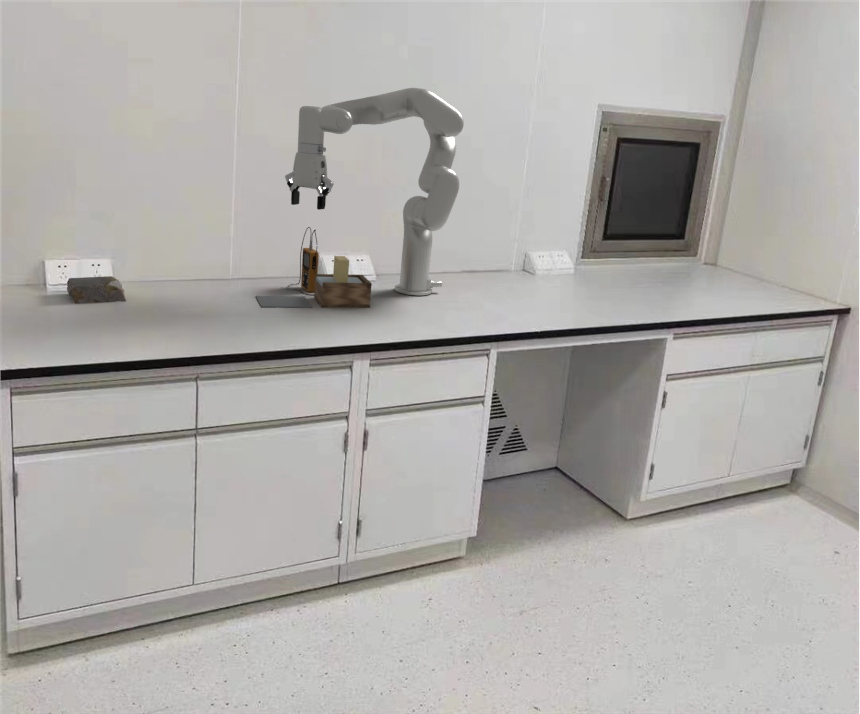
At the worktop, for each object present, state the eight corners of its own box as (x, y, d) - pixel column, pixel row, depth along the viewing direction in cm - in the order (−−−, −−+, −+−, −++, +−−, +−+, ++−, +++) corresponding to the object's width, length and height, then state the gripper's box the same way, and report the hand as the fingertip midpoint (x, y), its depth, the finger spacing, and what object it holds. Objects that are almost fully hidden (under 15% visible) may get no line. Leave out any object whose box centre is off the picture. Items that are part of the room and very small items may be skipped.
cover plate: (357, 280, 270) (358, 255, 268) (364, 287, 262) (366, 261, 259) (316, 279, 266) (317, 254, 263) (322, 287, 258) (323, 260, 255)
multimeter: (275, 285, 279) (278, 223, 273) (305, 284, 284) (308, 224, 278) (290, 296, 267) (293, 232, 261) (321, 295, 272) (324, 232, 266)
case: (360, 298, 273) (362, 274, 271) (369, 307, 263) (371, 283, 261) (314, 297, 268) (315, 273, 266) (321, 307, 258) (323, 282, 256)
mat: (304, 297, 268) (304, 296, 268) (312, 307, 257) (312, 306, 257) (255, 296, 263) (255, 295, 263) (261, 307, 252) (261, 306, 252)
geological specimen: (63, 277, 245) (118, 273, 252) (65, 298, 246) (119, 293, 254) (70, 285, 236) (126, 281, 243) (72, 307, 238) (128, 302, 245)
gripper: (341, 152, 256) (338, 210, 261) (295, 145, 263) (292, 201, 269) (326, 153, 249) (323, 212, 255) (279, 146, 257) (277, 203, 262)
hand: (307, 206), depth 262 cm, fingers open, 9 cm apart
